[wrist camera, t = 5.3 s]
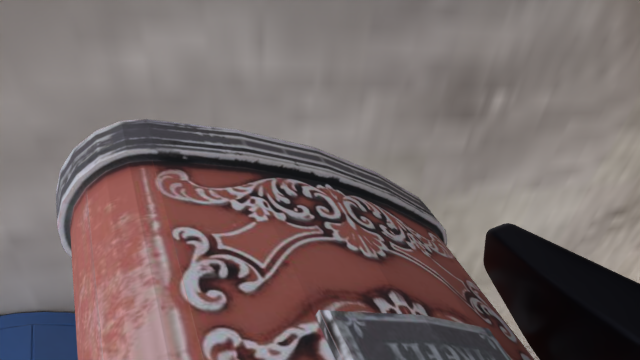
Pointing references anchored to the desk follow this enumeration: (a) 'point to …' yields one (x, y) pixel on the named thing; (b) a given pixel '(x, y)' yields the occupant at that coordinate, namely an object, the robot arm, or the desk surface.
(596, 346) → the robot arm
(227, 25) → the desk surface
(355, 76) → the desk surface
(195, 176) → the lighter
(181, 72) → the desk surface
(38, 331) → the blue round bin
